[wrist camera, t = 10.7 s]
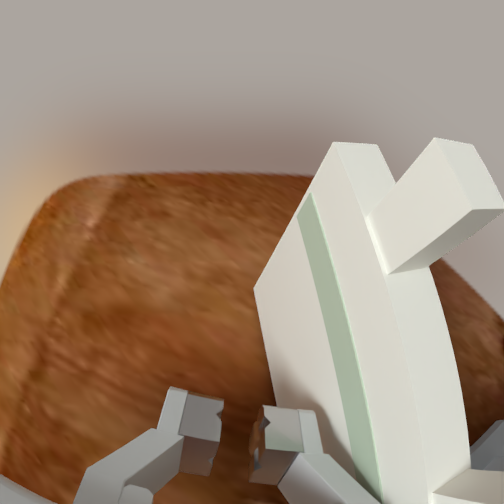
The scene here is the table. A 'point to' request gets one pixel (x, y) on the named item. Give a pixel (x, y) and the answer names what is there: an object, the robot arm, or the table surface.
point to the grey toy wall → (489, 449)
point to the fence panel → (379, 319)
